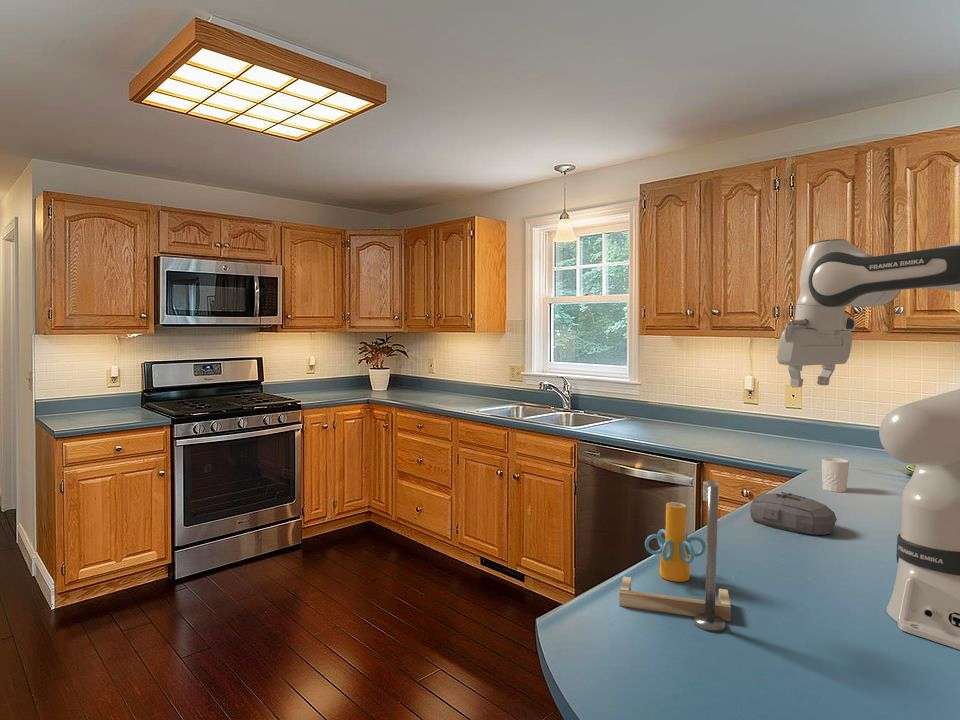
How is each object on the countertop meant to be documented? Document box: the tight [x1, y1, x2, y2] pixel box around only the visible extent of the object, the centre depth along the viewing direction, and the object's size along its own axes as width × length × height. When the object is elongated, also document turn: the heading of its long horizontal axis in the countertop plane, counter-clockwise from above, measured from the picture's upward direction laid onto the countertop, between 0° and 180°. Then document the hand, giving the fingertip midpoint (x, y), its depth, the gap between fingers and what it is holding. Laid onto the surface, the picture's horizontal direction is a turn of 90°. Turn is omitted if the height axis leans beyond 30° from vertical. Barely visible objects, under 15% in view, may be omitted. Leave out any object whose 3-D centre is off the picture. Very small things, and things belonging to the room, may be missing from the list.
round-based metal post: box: [693, 479, 726, 633], centre depth 108 cm, size 11×5×24 cm, turn 162°
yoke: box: [618, 576, 732, 622], centre depth 114 cm, size 8×19×2 cm, turn 72°
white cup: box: [821, 457, 850, 493], centre depth 203 cm, size 8×8×10 cm
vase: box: [644, 501, 707, 583], centre depth 127 cm, size 12×10×15 cm
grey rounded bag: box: [749, 491, 838, 536], centre depth 163 cm, size 15×8×20 cm
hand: (809, 385), depth 129 cm, fingers open, 8 cm apart
